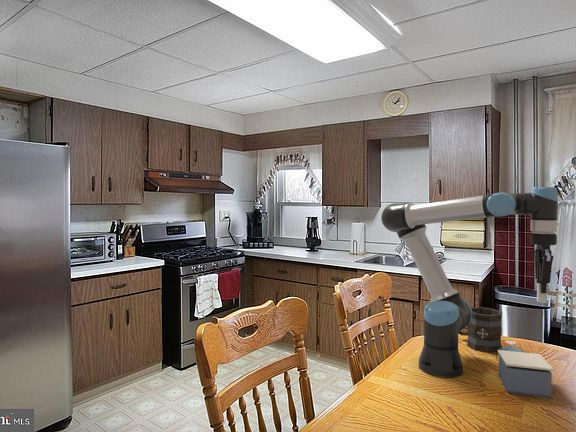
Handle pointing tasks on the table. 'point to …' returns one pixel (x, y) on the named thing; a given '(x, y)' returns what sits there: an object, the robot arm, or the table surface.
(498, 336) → the mug
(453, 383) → the table surface
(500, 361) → the box
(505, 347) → the packaged food
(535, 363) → the lid
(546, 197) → the robot arm
